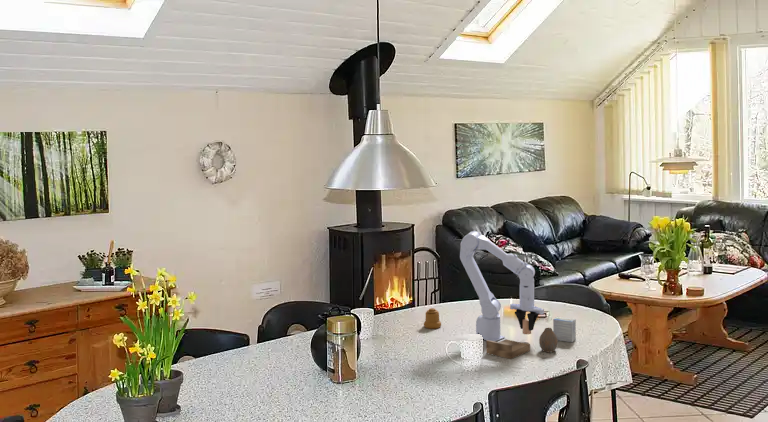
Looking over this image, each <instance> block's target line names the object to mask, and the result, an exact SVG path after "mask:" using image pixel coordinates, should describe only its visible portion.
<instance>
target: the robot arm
mask: <svg viewBox="0 0 768 422" xmlns="http://www.w3.org/2000/svg"><path fill="white" fill-rule="evenodd" d="M476 250H483V251H488V252H489V253H490V254H492V255H494V256H495V257H496V258H497V259H499V260H501V261H502V266H504V267H505V268H506V269H508V270H510V271H511V272H513V274H515V275H517V276H518V278H519V303H511V304H510V305H509V308H510V310H515V311H514V315H515V317H516V318H517V320H518V323H519V327H520V329H521V330H523V319H526V316H527V319H528V321H529V331H531V332H532V331H534V327H535V324H536V321H537V318H538V317H539V315H540V316H542V315H543V314H545V309H544V308H542V307H539V306H535V278H534V277H535V274H536V270H535V267H534V266H532V264H529V263H528V262H526V261H523V260H522V259H520V258H519V257H518V255H517V254H516V253H514V254H513V253H507V252H505V251H504V250H503V249H502V248H500V247H499V246H498V245H496V244H495V243H494V242H492V241H491V240H490V239H489V238H487V236H485V235H483V234H481V233H480V232H479V231H476V230H471V231H470V232H468V233H467V234H466V235H464V237H462V239H461V242H460V250H459V260H460V261H461V264H462V265H463V268H464V269H465V272H466V274H467V276H468V278H469V279H470V281H471V283H472V286H473V288H474V291H475V292H476V294H477V296H478V299H479V304H480V307H481V308H480V309H481V314H480V315H478V317H477V318H476V320H475V335H476V334H480V335H482V337H483V339H484V341H487V340H490V341H495V342H499V341H500V340H504V338H505V339H506V337H505V335H501V315H500V313H499V312H500V310H501V309H502V305H501V302H500V301H499V299H497V298H496V297H495V295H494V293H493V292H492V291H490V288H489V287H488V286H489V285H488V284H487V282H486V280H485V278H484V277H483V273H482V272H481V269H480V268H479V266H478V264H477V262H476V260H475V258H474V257H475V256H474V255H475V253H476ZM527 312H528V313H527Z"/></svg>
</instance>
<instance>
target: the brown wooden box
mask: <svg viewBox="0 0 768 422" xmlns="http://www.w3.org/2000/svg"><path fill="white" fill-rule="evenodd" d="M485 341H486V349H485V350H486V354H487V353H489V354H488V355H491V354H493V355H492V356H495V355H496V356H495V357H501V358H504V359H510V360H512V359H514V358H517V357H519V356H521V355H524V354H525V353H528V352H530V351H531V344H530V343H526V342H521V341H515V340H511V339H506V338H505V339H502V340H501V341H500V340H499V341H490V340H485Z"/></svg>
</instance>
